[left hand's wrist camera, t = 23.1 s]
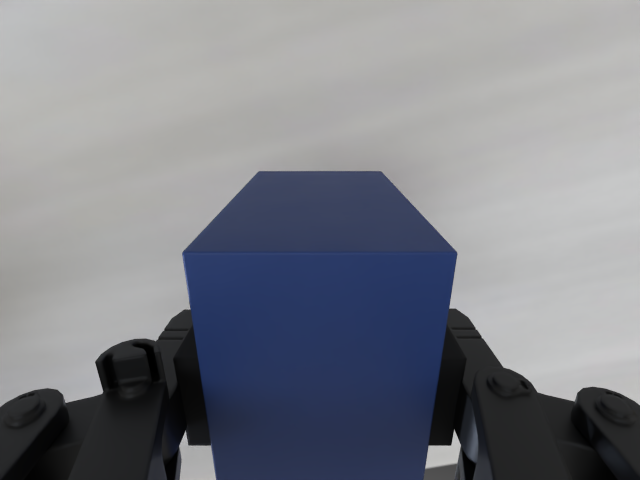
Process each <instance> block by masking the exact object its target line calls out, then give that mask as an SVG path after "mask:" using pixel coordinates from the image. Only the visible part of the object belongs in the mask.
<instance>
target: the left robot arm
mask: <svg viewBox="0 0 640 480" xmlns="http://www.w3.org/2000/svg"><path fill="white" fill-rule="evenodd" d="M95 363H96V367H97V370H98V374H99V377H100V381H101V385H102V388H103V394H101V395H97V396H94V397H90V398H86V399H81V400H77V401H72V402H68V403H65V400H64V397H63V394H62V393H60V392H59V391H58V390H55V389H48V388H47V389H40V390H34V391H31V392H28V393H25V394H22V395H20V396H18V397H16V398H14V399H12V400H10V401H9V402H7V403H5V404H4V405H3V406H1V407H0V480H179V479H180V469H181V454H180V448H179V445H180V442H181V440H182V438H183V435H184V433H185V430H186V434H187V439H188V445H211V441H210V435H209V428H208V421H207V415H206V408H205V401H204V395H203V388H202V382H201V375H200V368H199V362H198V355H197V348H196V342H195V335H194V328H193V322H192V315H191V310H183V311H182V312H180V313H179V314H178V315H176V316H175V317H173V318H172V319H171V320H170V322H169V323H168V325H167V326H166V328H165V330H164V331H163V332H162V333H161V335H160V336H159V339H158V340H156V342H155V341H153V340H149V339H133V340H129V341H125V342H122V343H119V344H117V345H115V346H113V347H111V348H109V349H108V350H106V351H105V352H104V353H102V354H101V355H100V356H99V358H98V359H97V360H96V362H95ZM454 429H455V432H456V434H457V436H458V439H459V441H460V444H461V448H460V453H459V459H458V464H457V469H456V474H455V480H460V478H461V480H640V405H638V404H637V403H636V402H635V401H633V400H631V399H629V398H627V397H625V396H624V395H622V394H620V393H617V392H614V391H611V390H608V389H604V388H597V387H588V388H583V389H582V390H580V391H579V392H578V393H577V396H576V399H575V402H574V401H570V400H565V399H561V398H557V397H552V396H548V395H544V394H541V393H538V392H537V391H536V389H535V388H534V386H533V385H532V383H531V382H529V381H528V380H527V379H526V378H525V377H523V376H522V375H520V374H518V373H516V372H514V371H512V370H510V369H506V368H503V366H502V365H501V363H500V362H499V361H498V359H497V358H496V356H495V355H494V353H493V352H492V351H491V349H490V348H489V346H488V345H487V344H486V342H485V341H484V339H482V338H481V335H480V334H479V332H478V331H477V330H476V329H475V326H474V325H473V324H472V322H471V321H470V319H469V318H468V317H467V316H465V315H464V314H463V313H461V312H460V311H458V310H457V309H449V312H448V319H447V325H446V332H445V339H444V345H443V352H442V359H441V365H440V372H439V379H438V385H437V392H436V399H435V405H434V412H433V419H432V425H431V432H430V439H429V445H451V444H452V438H453V432H454Z"/></svg>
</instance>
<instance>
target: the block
mask: <svg viewBox="0 0 640 480" xmlns="http://www.w3.org/2000/svg"><path fill="white" fill-rule="evenodd" d="M182 255H183V262H184V269H185V275H186V282H187V288H188V295H189V302H190V308H191V315H192V322H193V328H194V335H195V342H196V348H197V355H198V362H199V368H200V375H201V382H202V388H203V395H204V401H205V408H206V415H207V421H208V428H209V435H210V441H211V448H212V455H213V461H214V468H215V475H216V480H423V479H424V472H425V465H426V459H427V452H428V445H429V439H430V432H431V425H432V419H433V412H434V405H435V399H436V392H437V385H438V379H439V372H440V365H441V359H442V352H443V345H444V339H445V332H446V325H447V319H448V312H449V305H450V299H451V292H452V285H453V279H454V272H455V265H456V259H457V252H456V251H455V250H454V249H453V248H452V246H451V245H450V244H449V243H448V242H447V241H446V240H445V239H444V238H443V237H442V236H441V235H440V234H439V233H438V232H437V230H436V229H435V228H434V227H433V226H432V225H431V224H430V223H429V222H428V221H427V220H426V219H425V218H424V217H423V216H422V214H421V213H420V212H419V211H418V210H417V209H416V208H415V207H414V206H413V205H412V204H411V203H410V202H409V201H408V200H407V199H406V197H405V196H404V195H403V194H402V193H401V192H400V191H399V190H398V189H397V188H396V187H395V186H394V185H393V184H392V183H391V181H390V180H389V179H388V178H387V177H386V176H385V175H384V174H383V173H382V172H381V171H259V172H258V173H257V174H256V175H255V176H254V177H253V178H252V179H251V180H250V181H249V182H248V183H247V184H246V185H245V187H244V188H243V189H242V190H241V191H240V192H239V193H238V194H237V195H236V196H235V197H234V198H233V199H232V200H231V201H230V202H229V204H228V205H227V206H226V207H225V208H224V209H223V210H222V211H221V212H220V213H219V214H218V215H217V216H216V217H215V218H214V219H213V220H212V222H211V223H210V224H209V225H208V226H207V227H206V228H205V229H204V230H203V231H202V232H201V233H200V234H199V235H198V236H197V237H196V239H195V240H194V241H193V242H192V243H191V244H190V245H189V246H188V247H187V248H186V249H185V250H184V251H183V253H182Z"/></svg>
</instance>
